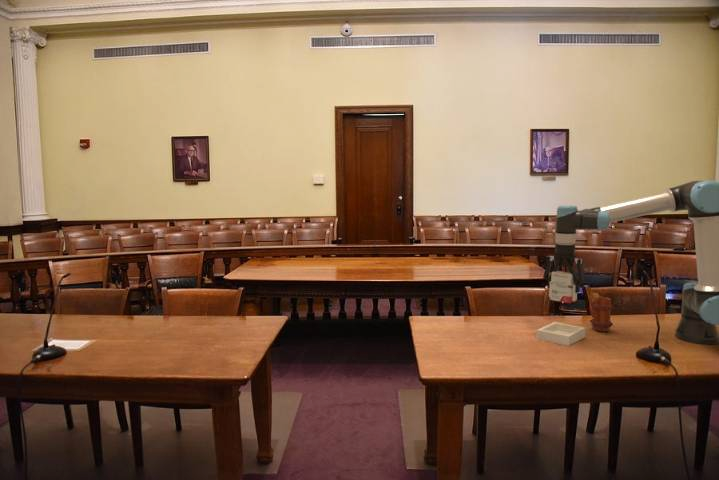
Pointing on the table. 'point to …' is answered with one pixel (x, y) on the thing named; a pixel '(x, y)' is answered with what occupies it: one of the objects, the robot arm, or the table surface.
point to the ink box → (562, 286)
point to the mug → (600, 312)
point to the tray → (561, 333)
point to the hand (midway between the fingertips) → (562, 298)
